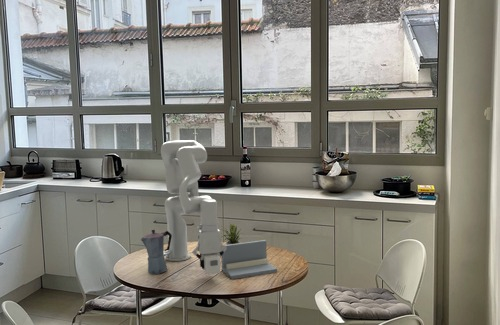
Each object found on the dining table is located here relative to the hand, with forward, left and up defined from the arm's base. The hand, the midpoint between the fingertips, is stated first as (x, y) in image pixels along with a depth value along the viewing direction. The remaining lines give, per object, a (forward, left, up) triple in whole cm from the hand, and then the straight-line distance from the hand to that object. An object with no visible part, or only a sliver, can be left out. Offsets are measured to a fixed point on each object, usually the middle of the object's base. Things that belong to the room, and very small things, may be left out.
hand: (210, 266), depth 209 cm
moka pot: (-20, +20, -6) cm, 29 cm away
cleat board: (+19, +3, -5) cm, 20 cm away
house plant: (+20, +31, -6) cm, 38 cm away
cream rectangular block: (0, 0, -1) cm, 1 cm away
